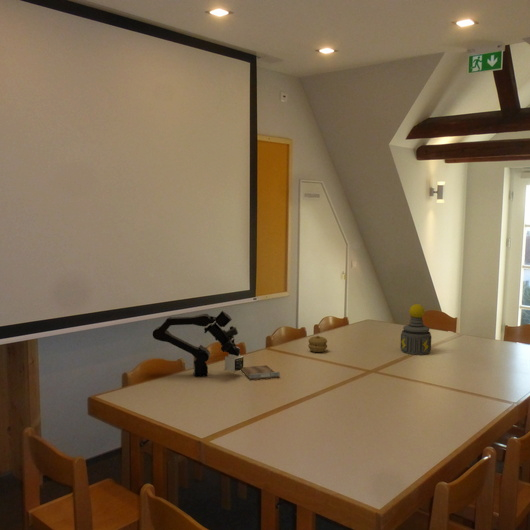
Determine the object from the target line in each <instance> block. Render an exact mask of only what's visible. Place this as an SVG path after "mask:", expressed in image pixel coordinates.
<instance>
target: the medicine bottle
mask: <svg viewBox="0 0 530 530" xmlns="http://www.w3.org/2000/svg"><path fill="white" fill-rule="evenodd" d="M234 348H235V349H236V351H237V352H238V354H239V356H236V355H233V354H231V353H228V355H227V356H224V371H228V372H233V373H236V372H241V371H240V370H243V367H244V356H243V355H241V348H240V347H238V346H237V347H234Z"/></svg>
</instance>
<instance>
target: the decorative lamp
mask: <svg viewBox="0 0 530 530" xmlns="http://www.w3.org/2000/svg"><path fill="white" fill-rule="evenodd" d="M409 316H410V320H409V323H408V324H406V325H404V326H403V330H402V331H401V333H400V350H401V352H402V353H404V354H406V355H407V354H408V355H411V356H425V355H429V354H430V353H431V351H432V333H431V331H430V328H429V327H428V326H426V325H425V324H424V320H423V317H424V316H425V307H423V306H422V305H421V304H419V303H418V304H417V303H415V304H413V305H411V306H410V308H409Z"/></svg>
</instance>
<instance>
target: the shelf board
mask: <svg viewBox="0 0 530 530" xmlns="http://www.w3.org/2000/svg"><path fill="white" fill-rule="evenodd" d="M241 371H242V372H243V373H244V374H245V375H246V376H245V375H244V374H243V373H242V372H241ZM241 371H240V372H241V373H242V374H243V375H244V376H245V377H246V378H247V379H248V380H249V381H250V380H254V381H261V380H260V379H265V380H272V379H271V378H277V379H281V375H280V376H275V377H264V378H252V379H250V378H249V374H258V373H270V372H275V370H273V369H271V367H269V366H268V365H267V364H266V365H256V366H255V365H254V366H243V370H241Z"/></svg>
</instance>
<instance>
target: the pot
mask: <svg viewBox="0 0 530 530" xmlns="http://www.w3.org/2000/svg"><path fill="white" fill-rule="evenodd" d="M327 343H328V340H327V338H326V337H324V336H320V335H316V336H311V337H310V338H309V339H308V344H307V345H308V346H307V347H308V349H309V350H310V351H311V352H312V353H313V352H314V353H323V352H325V351H326V350H327V348H328V345H327Z"/></svg>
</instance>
